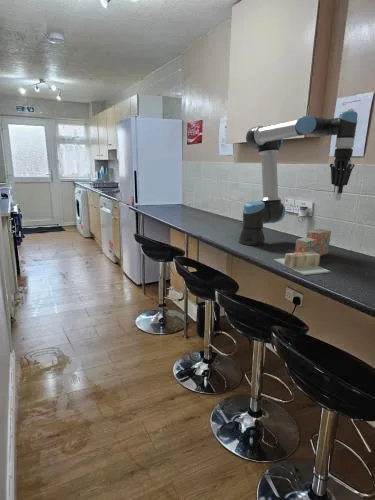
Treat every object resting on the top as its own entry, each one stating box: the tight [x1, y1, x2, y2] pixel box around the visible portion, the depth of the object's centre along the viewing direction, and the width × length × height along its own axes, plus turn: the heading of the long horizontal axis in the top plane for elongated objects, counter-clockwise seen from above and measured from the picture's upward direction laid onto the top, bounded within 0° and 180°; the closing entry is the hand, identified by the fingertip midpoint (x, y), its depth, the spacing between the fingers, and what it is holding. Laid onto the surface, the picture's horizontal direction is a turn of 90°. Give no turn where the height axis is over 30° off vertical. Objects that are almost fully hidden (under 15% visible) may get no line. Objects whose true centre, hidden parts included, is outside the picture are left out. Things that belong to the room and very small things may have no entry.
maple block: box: [284, 252, 322, 269], centre depth 148 cm, size 5×5×15 cm
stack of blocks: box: [294, 228, 332, 257], centre depth 164 cm, size 21×6×12 cm, turn 129°
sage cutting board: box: [273, 257, 331, 276], centre depth 148 cm, size 22×14×1 cm, turn 19°
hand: (336, 200), depth 155 cm, fingers closed
